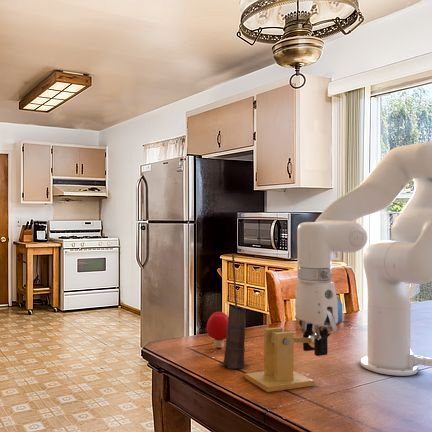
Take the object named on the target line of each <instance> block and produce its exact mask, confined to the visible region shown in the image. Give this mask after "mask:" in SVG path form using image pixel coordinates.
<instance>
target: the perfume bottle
mask: <svg viewBox="0 0 432 432" xmlns="http://www.w3.org/2000/svg"><path fill="white" fill-rule="evenodd" d="M337 306H338V323H342V322H343V303H342V301H341V300H340V298H339V297H338V296H337Z"/></svg>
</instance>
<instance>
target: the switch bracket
mask: <svg viewBox="0 0 432 432" xmlns="http://www.w3.org/2000/svg"><path fill="white" fill-rule="evenodd" d="M263 330H264V331H263V332H264V334H263V337H264V342H263V347H264V349H263V350H264V351H263V355H264V356H263V360H264V361H263V365H264V366H263V370H262V371H255V372H247V373H244V376H245V377H244V379H245V380H247V381H248V382H250V383H251V384H253V385H255V386H257V387H258V388H259V389H262V390H263V391H264V392H266V393H272V392H279V391H285V390H286V391H287V390H293V389H299V388H300V389H301V388H307V387H313V386H314V380H313V379H311V378H309V377H307V376H305V375H303V374H301V373H300V372H297V371H295V370H294V367H295V366H294V362H295V361H294V353H295V351H294V349H295V348H294V347H295V346H294V343H295V342H294V337H295V332H293V331H291V330H290V331H284V329H283V327H278V326H277V327H269V328H264V329H263ZM271 332H279V333H275V344H274V343H271V342H270V340H271Z"/></svg>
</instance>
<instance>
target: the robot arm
mask: <svg viewBox="0 0 432 432" xmlns="http://www.w3.org/2000/svg"><path fill="white" fill-rule="evenodd" d="M411 181H413V184H414V185H413V186H414V189H413V193H412V196H411V197H410V198H409V200H408V202H407V203H406V204H405V206H404V207H403V208H402V210H400V212H399V214H398V215H397V217H396V218H395V220H394V221H393V223H392V225H391V228H390V234H391V237H392V239H393V240H381V241H380V240H379V241H376V242H374V243H372V244H370V245H369V246H368V247H367V248H366V249H365V251H364V253H363V259H362V261H363V269H364V273H365V278H366V284H367V353H366V354H367V355H366V356H364V357H362V358H361V359H360V366H362V368H364V369H366V370H368V371H369V372H370V371H371V372H373V373H378V374H381V375H387V376H397V377H407V376H408V377H409V376H414V375H416V374H417V373H418V369H419V367H418V366H424V367H432V357H426V355H416V354H414V353H413V351H412V350H411V349H412V348H411V315H412V313H411V312H412V311H411V308H412V301H411V299H412V298H411V293H410V291H409V288H408V286H407V284H412V285H413V284H414V285H426V284H429V283H431V282H432V141H424V142H423V141H422V142H416V143H411V144H405V145H404V144H403V145H399V146H396V147H394V148H392V149H390V150H389V151H387V152H386V154H385V155H384V156H383V157H382V159H381V160H380V161H379V162H378V163H377V164H376V165H375V167H374V168H373V169H372V170H371V171H370V173H368V175H367V176H366V177H365V179H364V180H362V182H361V183H360V184H359V185H358V186H356V187H354V188H352V189H350V190H349V191H348V192H346V193H345V194H344V195H342V196H340V197H338V198H337V199H335V200H334V201H333V202H331V203H330V204H329V205H328V206H327V207H326V208H325V209H324V210H323V211H322V212H321V214H319V215H318V217H317V218H316V219H315V221H304V222H301V223H299V224H298V226H297V229H296V237H297V238H296V244H297V245H296V246H297V250H296V251H297V252H296V253H297V280H296V287H295V297H294V298H295V299H294V311H295V312H294V315H295V316H294V319H295V320H296V322H298V324H299V326H300V328H301V329H300V332H301V334H302V337H305V338H308V337H309V335H311V334H316V337H317V338H314V348H313V347H311V346H310V345H309V344H308V343H302V350H303V351H304V352H310V351H311V352H312V351H314V356H316V357H322V356H327V355H328V339H330V335H331V334H333V333H334V332H337V330H338V327H337V325H338V323H339V322H338V306H337V297H338V295H337V291H336V286H335V282H334V281H333V271H332V269H333V268H332V261H333V260H332V253H333V252H338V253H346V254H347V253H348V254H351V253H356V252H359V251H360V250H363V248H364V247H365V246H366V244H367V241H368V232H367V230H366V229H365V227H364V226H363V225H362V224H361V223H359V222H356V220H358V219H360V218H363V217H365V216H368V215H373V214H375V213H377V212H380V211H383V210H385V209H387V208H389V207H390V206H391V205H393V203H394V201H396V199H397V198H398V197H399V196H400V194H401V193H402V192H403V190H405V188H406V187H407V185H409V183H410V182H411ZM406 283H407V284H406Z"/></svg>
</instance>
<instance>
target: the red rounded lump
mask: <svg viewBox="0 0 432 432" xmlns="http://www.w3.org/2000/svg"><path fill="white" fill-rule="evenodd" d="M227 327H228V315H227V314H226V313H225V312H223V311H214V312H213V313H212V314H211V315H210V316H209V318H208V320H207V322H206V332H207V334H208V336H209V337H210V338H212V339H213V346H214V347H215V348H216V349H218V350H220V349H222V348H223V347H224V346H225V343H224V342H225V340H226V336H227Z"/></svg>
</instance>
